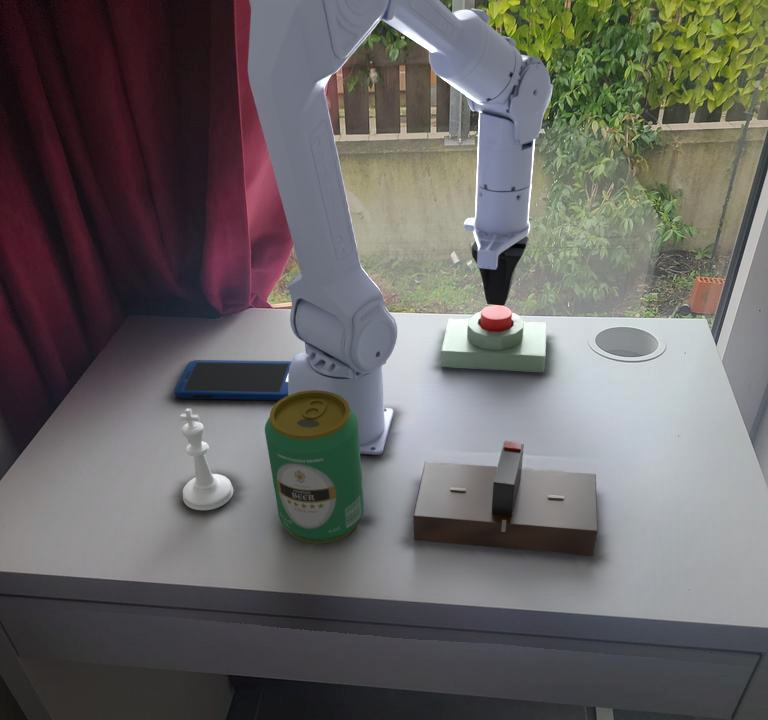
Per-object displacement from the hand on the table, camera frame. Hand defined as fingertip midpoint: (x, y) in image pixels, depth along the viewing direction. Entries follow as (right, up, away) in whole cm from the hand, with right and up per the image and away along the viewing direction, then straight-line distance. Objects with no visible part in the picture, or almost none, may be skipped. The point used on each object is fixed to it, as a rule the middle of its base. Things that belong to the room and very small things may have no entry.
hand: (496, 302), depth 94 cm
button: (0, -2, +2) cm, 3 cm away
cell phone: (-30, -9, +1) cm, 31 cm away
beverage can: (-19, -25, -17) cm, 35 cm away
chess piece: (-30, -23, -14) cm, 40 cm away
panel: (-2, -25, -18) cm, 31 cm away
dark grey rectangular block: (-2, -23, -20) cm, 30 cm away
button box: (0, -5, +4) cm, 7 cm away
